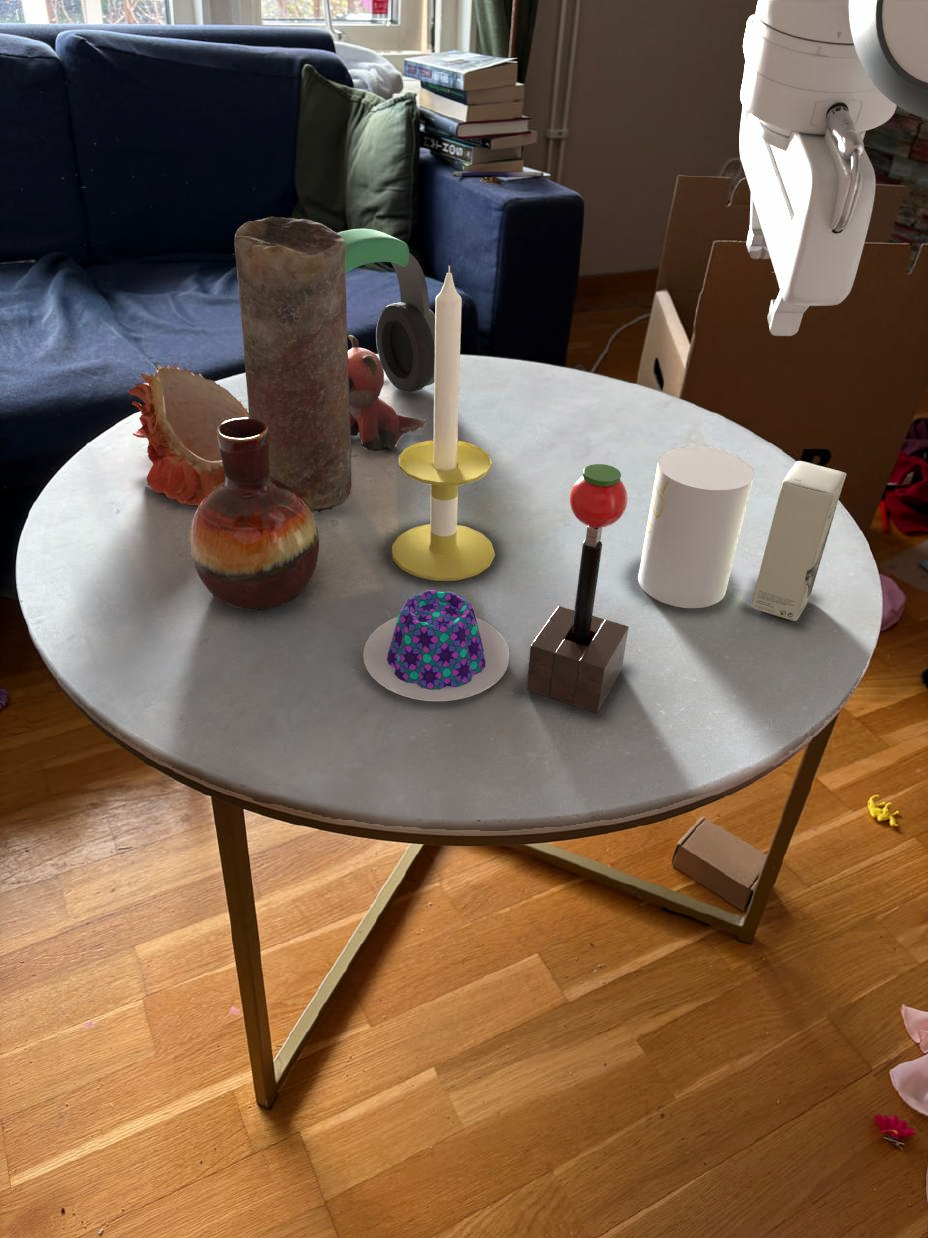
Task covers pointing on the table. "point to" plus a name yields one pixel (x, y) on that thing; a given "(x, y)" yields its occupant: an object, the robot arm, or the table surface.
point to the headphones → (398, 310)
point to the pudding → (436, 650)
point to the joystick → (593, 535)
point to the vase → (252, 526)
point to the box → (797, 539)
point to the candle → (444, 468)
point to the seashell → (184, 431)
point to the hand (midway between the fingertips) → (769, 290)
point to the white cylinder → (694, 525)
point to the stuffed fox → (373, 403)
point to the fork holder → (576, 661)
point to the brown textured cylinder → (298, 352)
